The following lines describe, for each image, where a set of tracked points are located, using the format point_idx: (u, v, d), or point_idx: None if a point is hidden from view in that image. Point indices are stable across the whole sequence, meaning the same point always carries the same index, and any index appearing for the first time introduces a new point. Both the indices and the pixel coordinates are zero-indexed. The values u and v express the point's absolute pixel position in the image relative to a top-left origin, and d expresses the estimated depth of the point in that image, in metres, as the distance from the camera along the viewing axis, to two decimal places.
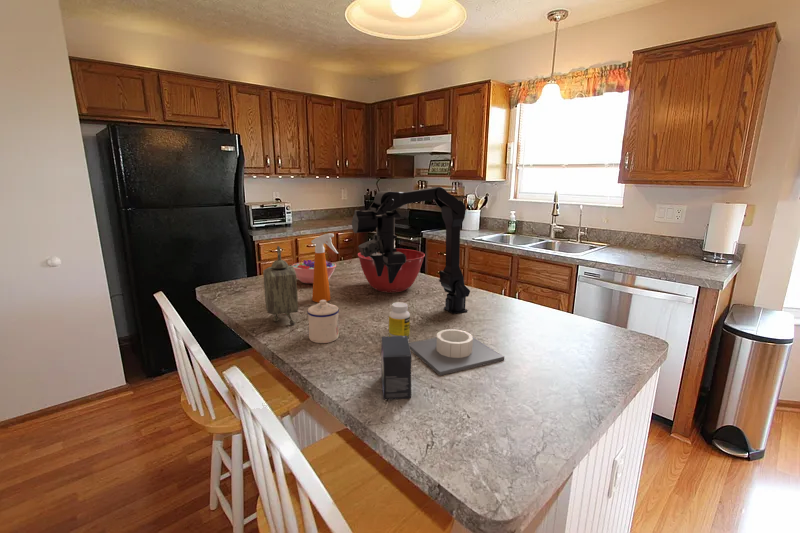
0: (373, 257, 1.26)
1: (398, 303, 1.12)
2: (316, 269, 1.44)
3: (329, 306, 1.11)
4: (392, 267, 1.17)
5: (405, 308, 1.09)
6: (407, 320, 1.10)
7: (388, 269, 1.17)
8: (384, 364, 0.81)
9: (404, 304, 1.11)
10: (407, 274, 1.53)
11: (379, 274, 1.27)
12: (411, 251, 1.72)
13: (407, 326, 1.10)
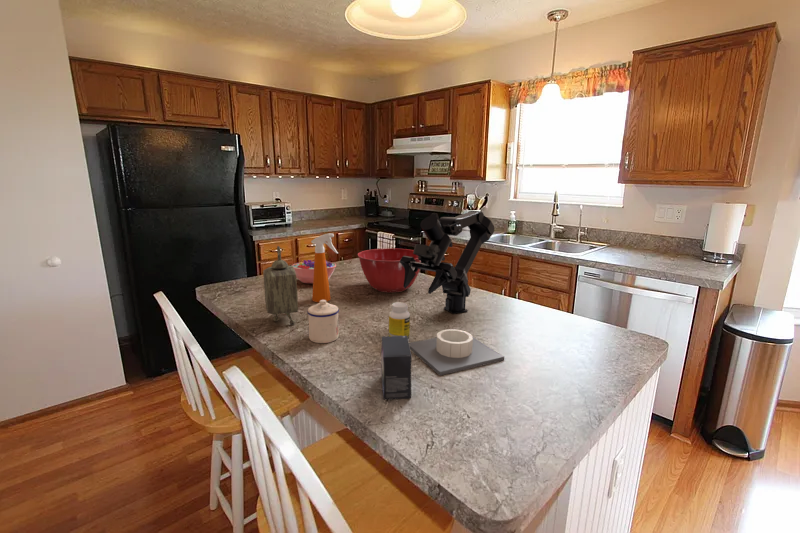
0: (409, 266, 1.21)
1: (398, 303, 1.12)
2: (316, 269, 1.44)
3: (329, 306, 1.11)
4: (439, 279, 1.15)
5: (405, 308, 1.09)
6: (407, 320, 1.10)
7: (436, 278, 1.14)
8: (384, 364, 0.81)
9: (404, 304, 1.11)
10: None
11: (405, 285, 1.20)
12: (411, 251, 1.72)
13: (407, 326, 1.10)
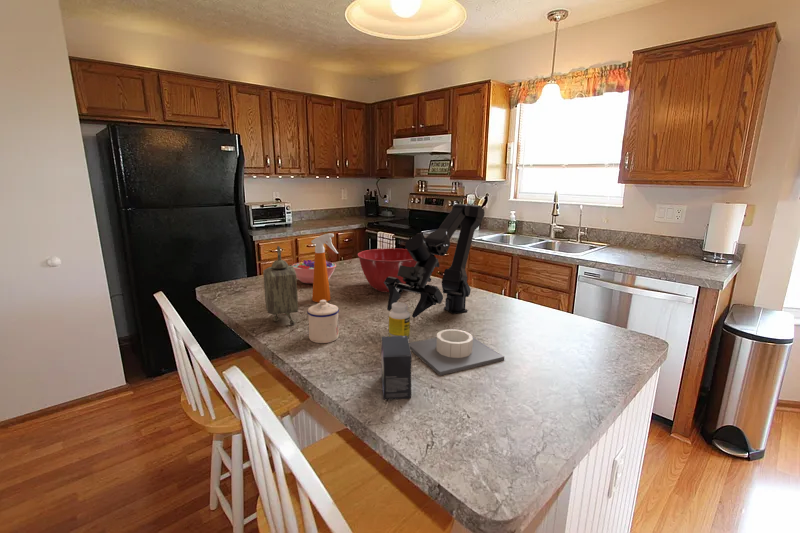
0: (393, 288, 1.16)
1: (398, 303, 1.12)
2: (316, 269, 1.44)
3: (329, 306, 1.11)
4: (424, 302, 1.10)
5: (405, 308, 1.09)
6: (407, 320, 1.10)
7: (421, 301, 1.09)
8: (384, 364, 0.81)
9: (404, 304, 1.11)
10: None
11: (389, 308, 1.15)
12: None
13: (407, 326, 1.10)
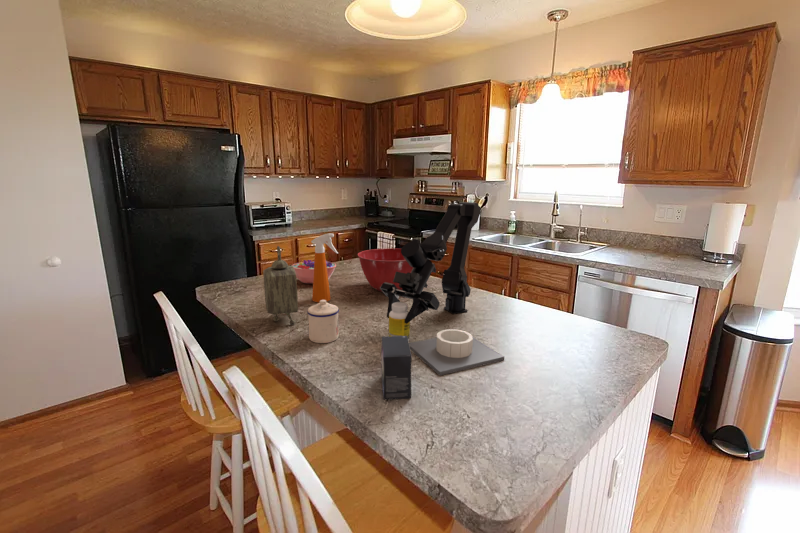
0: (393, 295, 1.14)
1: (398, 303, 1.12)
2: (316, 269, 1.44)
3: (329, 306, 1.11)
4: (416, 307, 1.10)
5: (405, 308, 1.09)
6: None
7: (414, 307, 1.09)
8: (384, 364, 0.81)
9: (404, 304, 1.11)
10: None
11: None
12: None
13: (407, 326, 1.10)
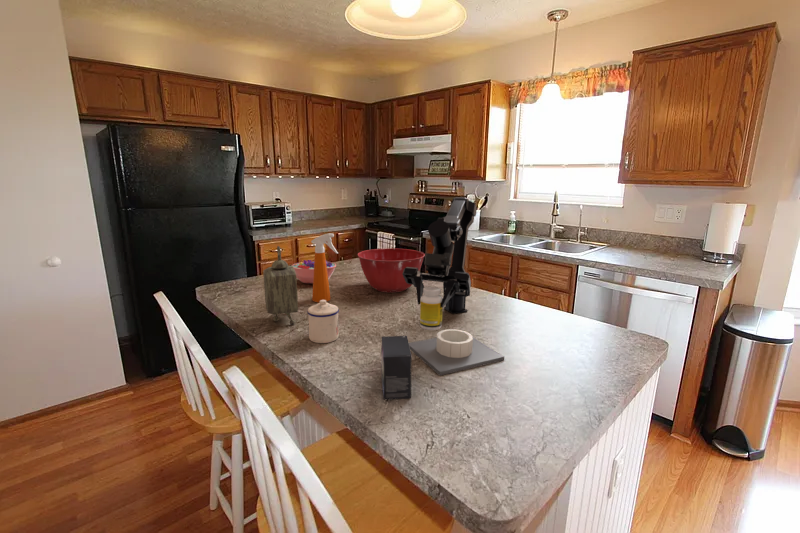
0: (420, 279, 1.06)
1: (429, 287, 1.04)
2: (316, 269, 1.44)
3: (329, 306, 1.11)
4: None
5: (439, 291, 1.03)
6: None
7: (448, 289, 1.03)
8: (384, 364, 0.81)
9: (436, 288, 1.04)
10: None
11: (419, 301, 1.05)
12: (411, 251, 1.72)
13: (441, 310, 1.04)
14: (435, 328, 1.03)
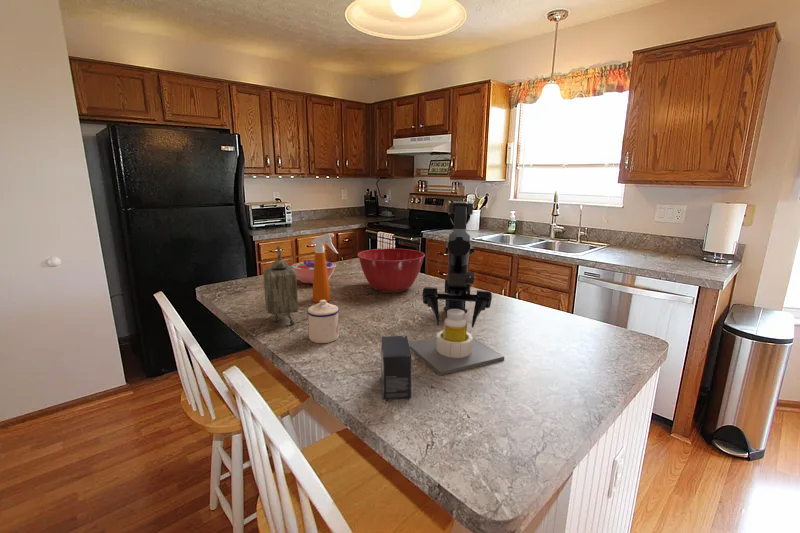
0: (437, 299, 1.04)
1: (452, 310, 1.03)
2: (316, 269, 1.44)
3: (329, 306, 1.11)
4: None
5: (464, 314, 1.02)
6: (466, 326, 1.03)
7: (477, 308, 1.02)
8: (384, 364, 0.81)
9: (459, 310, 1.03)
10: (407, 275, 1.53)
11: (438, 322, 1.03)
12: (411, 251, 1.72)
13: None
14: None
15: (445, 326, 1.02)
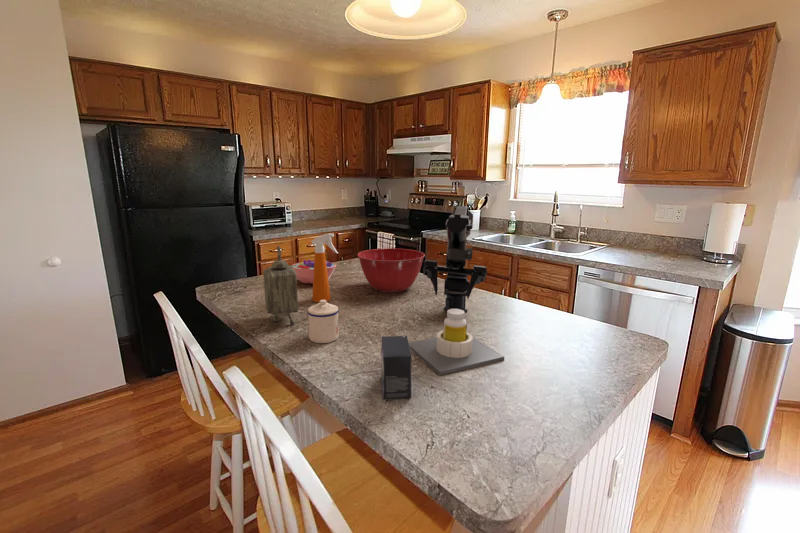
0: None
1: (452, 310, 1.03)
2: (316, 269, 1.44)
3: (329, 306, 1.11)
4: None
5: (464, 314, 1.02)
6: (466, 326, 1.03)
7: (473, 282, 1.12)
8: (384, 364, 0.81)
9: (459, 310, 1.03)
10: (407, 274, 1.53)
11: None
12: (411, 251, 1.72)
13: None
14: None
15: (445, 326, 1.02)
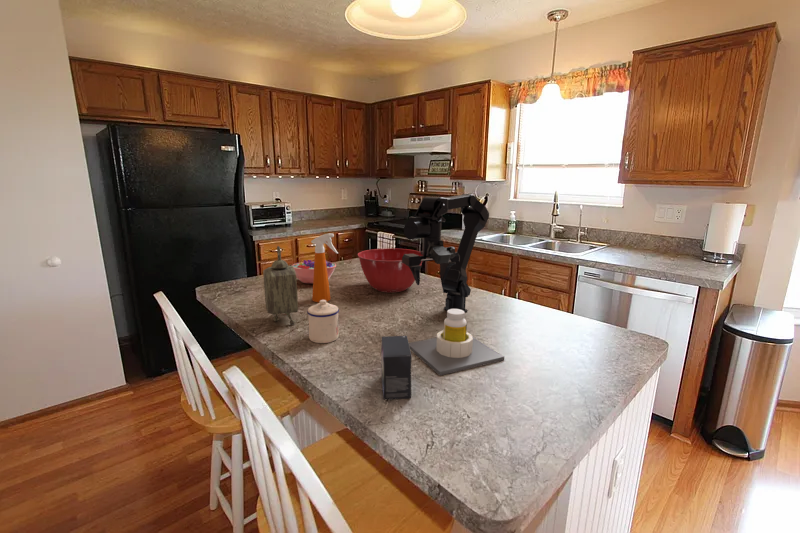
0: None
1: (452, 310, 1.03)
2: (316, 269, 1.44)
3: (329, 306, 1.11)
4: None
5: (464, 314, 1.02)
6: (466, 326, 1.03)
7: (448, 268, 1.26)
8: (384, 364, 0.81)
9: (459, 310, 1.03)
10: (407, 274, 1.53)
11: None
12: (411, 251, 1.72)
13: None
14: None
15: (445, 326, 1.02)
